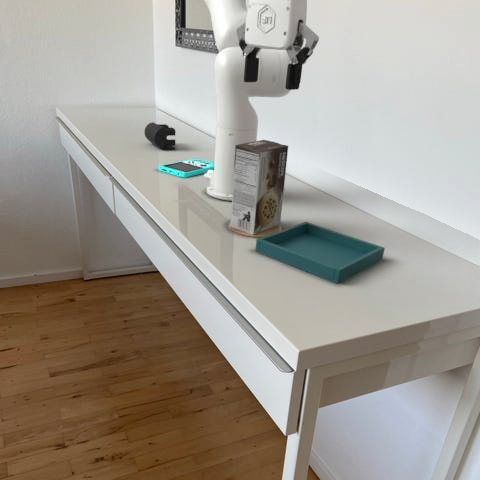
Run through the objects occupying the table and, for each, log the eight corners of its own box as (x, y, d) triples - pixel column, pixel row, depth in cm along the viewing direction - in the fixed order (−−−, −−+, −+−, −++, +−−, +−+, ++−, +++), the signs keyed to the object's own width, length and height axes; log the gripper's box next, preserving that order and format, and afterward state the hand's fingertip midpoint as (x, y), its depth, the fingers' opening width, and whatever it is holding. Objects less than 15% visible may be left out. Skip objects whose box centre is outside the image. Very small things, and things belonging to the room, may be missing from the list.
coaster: (217, 225, 103) (217, 224, 103) (252, 215, 110) (252, 214, 110) (258, 241, 97) (258, 240, 97) (292, 229, 104) (292, 228, 104)
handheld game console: (222, 168, 145) (222, 164, 144) (184, 178, 133) (185, 172, 132) (196, 162, 150) (196, 157, 149) (157, 170, 138) (157, 165, 137)
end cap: (144, 144, 166) (143, 122, 163) (164, 143, 170) (164, 122, 166) (154, 150, 159) (154, 127, 156) (175, 150, 162) (176, 127, 159)
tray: (255, 251, 92) (256, 238, 91) (304, 232, 103) (305, 221, 102) (337, 283, 83) (339, 270, 82) (382, 259, 93) (384, 247, 92)
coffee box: (256, 217, 108) (263, 139, 100) (280, 225, 105) (290, 145, 97) (228, 227, 102) (234, 143, 94) (253, 235, 99) (261, 150, 90)
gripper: (227, -33, 85) (221, 79, 93) (311, -32, 75) (296, 93, 84) (256, -28, 90) (248, 79, 98) (339, -26, 80) (322, 91, 89)
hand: (270, 85), depth 91 cm, fingers open, 9 cm apart
